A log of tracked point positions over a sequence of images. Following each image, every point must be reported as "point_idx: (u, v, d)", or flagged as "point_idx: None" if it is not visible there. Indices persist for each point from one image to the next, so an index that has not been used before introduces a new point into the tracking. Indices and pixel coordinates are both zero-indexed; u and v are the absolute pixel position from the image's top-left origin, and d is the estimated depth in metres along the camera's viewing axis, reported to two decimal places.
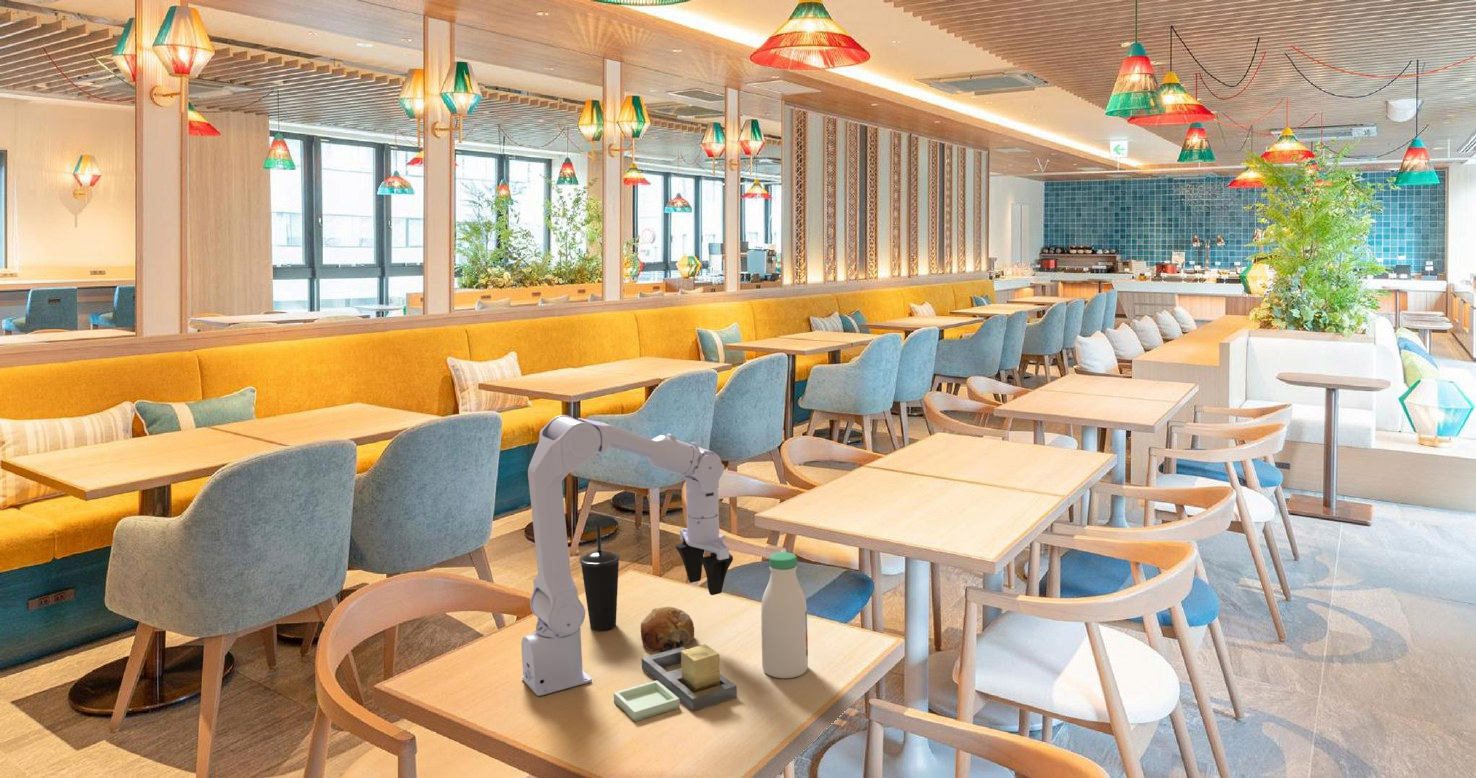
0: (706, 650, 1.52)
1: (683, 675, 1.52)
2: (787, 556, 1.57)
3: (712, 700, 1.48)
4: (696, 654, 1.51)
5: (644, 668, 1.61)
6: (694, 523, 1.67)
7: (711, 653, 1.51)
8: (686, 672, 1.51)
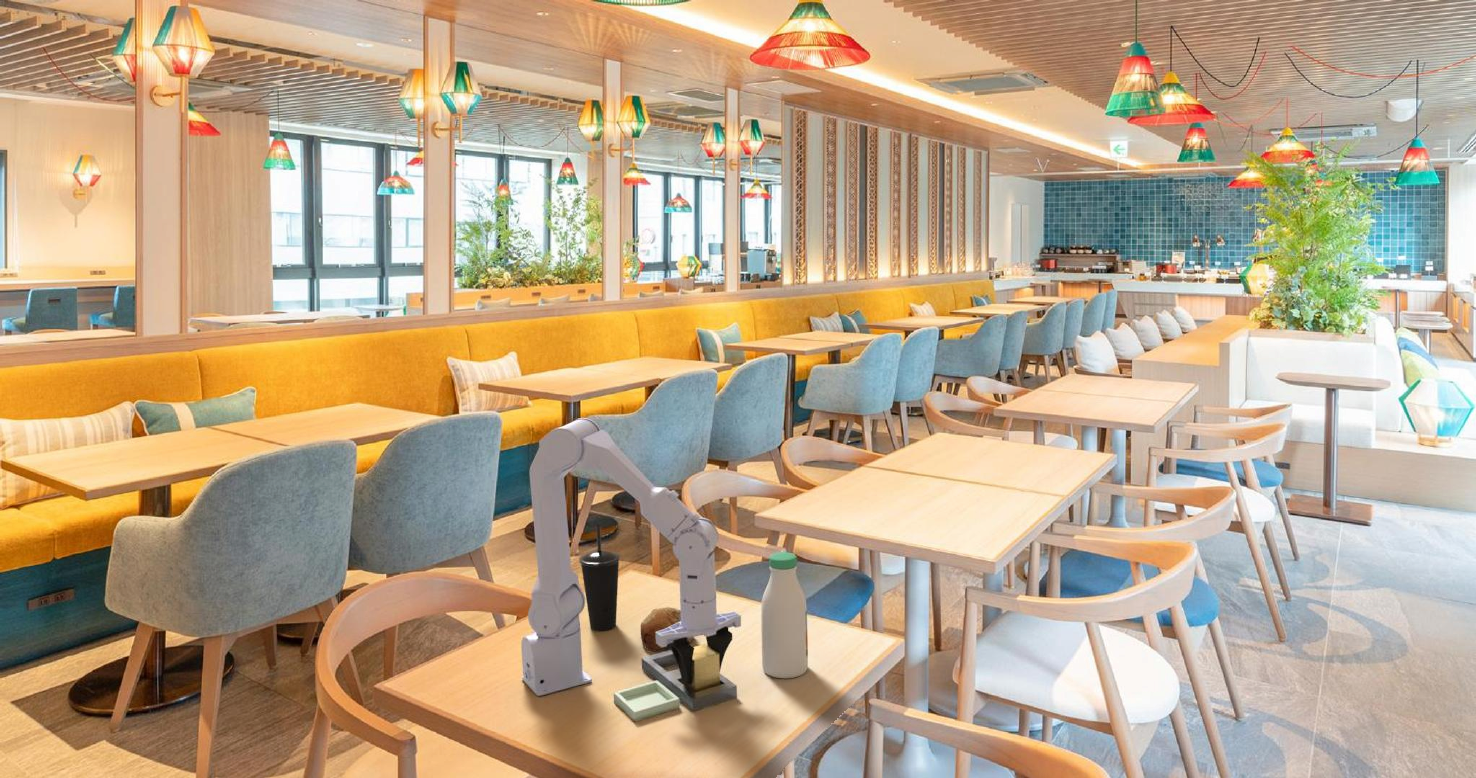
0: (706, 650, 1.52)
1: None
2: (787, 556, 1.57)
3: (712, 700, 1.48)
4: (696, 653, 1.51)
5: (644, 668, 1.61)
6: None
7: (711, 653, 1.51)
8: None
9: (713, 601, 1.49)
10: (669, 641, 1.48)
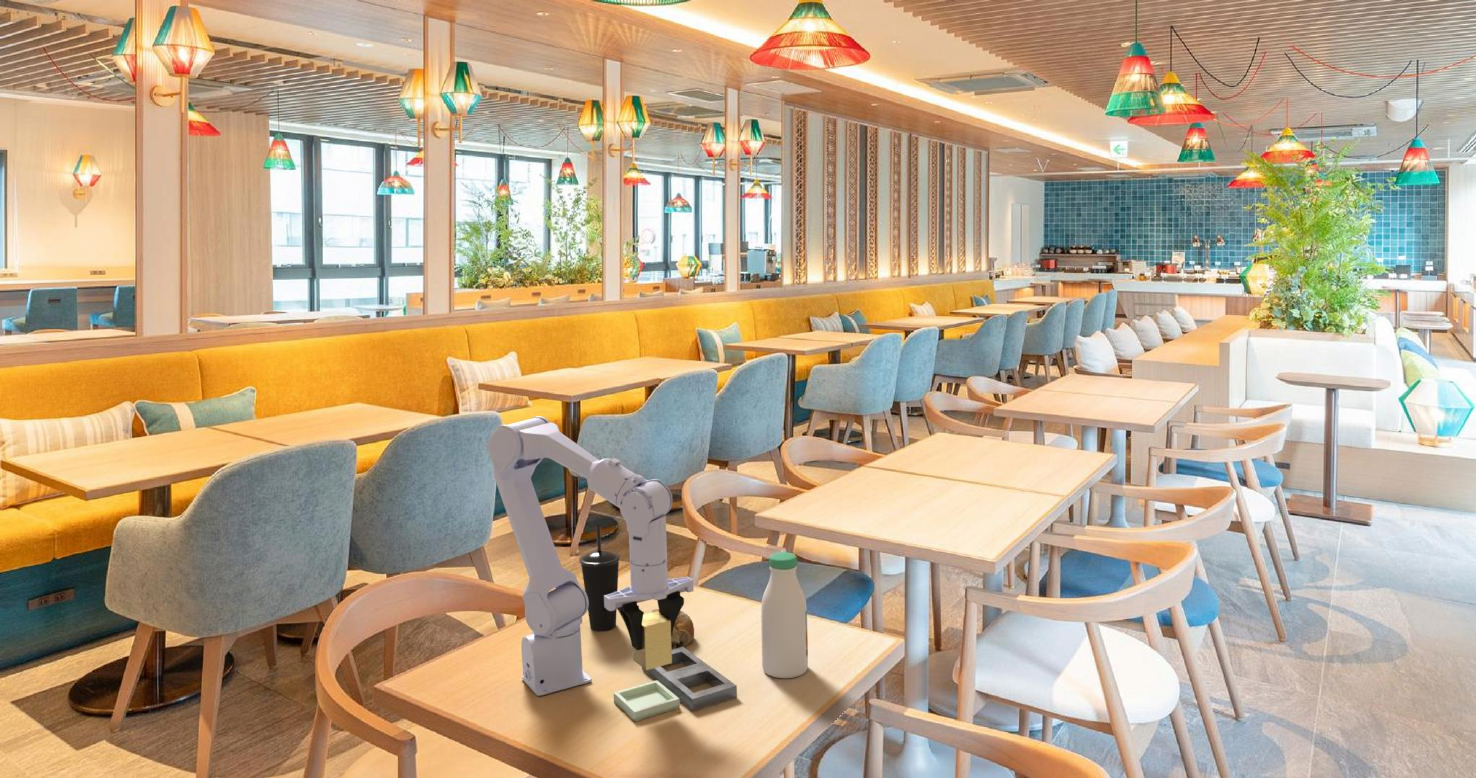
0: (657, 617, 1.48)
1: None
2: (787, 556, 1.57)
3: (712, 700, 1.48)
4: (647, 620, 1.47)
5: None
6: None
7: (662, 620, 1.47)
8: None
9: (663, 564, 1.45)
10: (618, 605, 1.44)
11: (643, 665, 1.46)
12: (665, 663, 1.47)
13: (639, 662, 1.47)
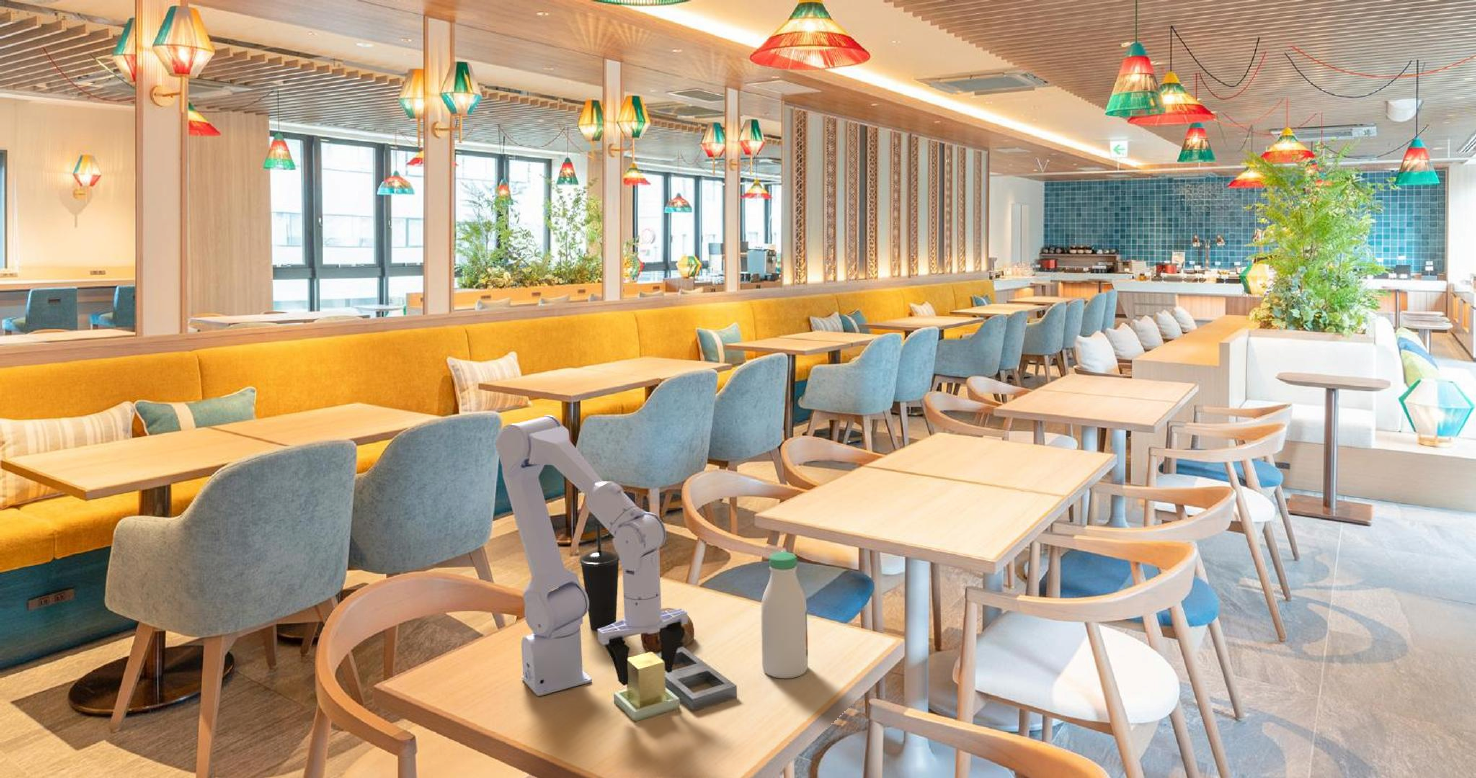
0: (652, 658, 1.49)
1: (628, 683, 1.49)
2: (787, 556, 1.57)
3: (712, 700, 1.48)
4: (641, 662, 1.47)
5: None
6: None
7: (656, 661, 1.48)
8: (631, 680, 1.48)
9: (657, 597, 1.45)
10: (611, 638, 1.44)
11: (637, 706, 1.47)
12: None
13: (633, 703, 1.48)
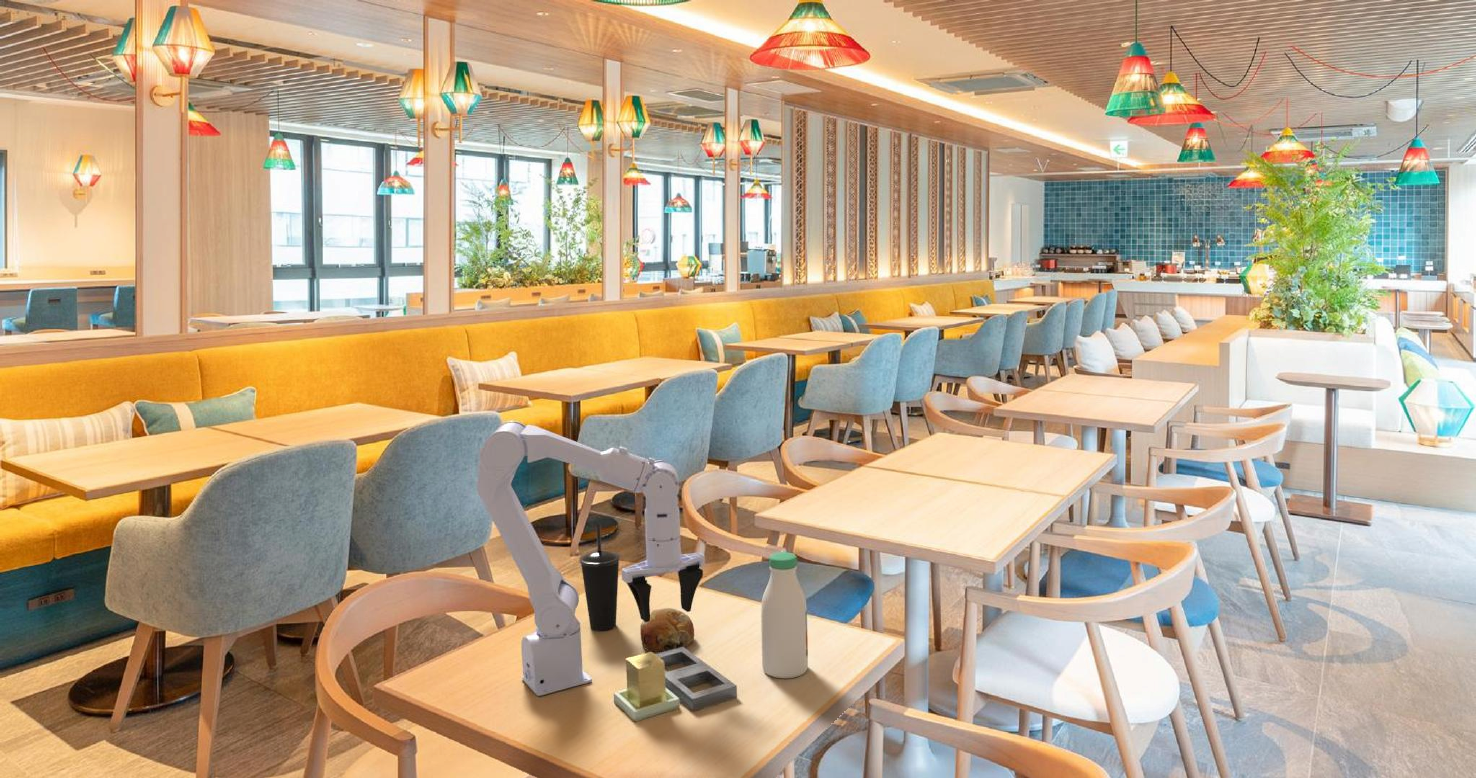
0: (652, 658, 1.49)
1: (628, 683, 1.49)
2: (787, 556, 1.57)
3: (712, 700, 1.48)
4: (641, 662, 1.47)
5: None
6: None
7: (656, 661, 1.48)
8: (631, 680, 1.48)
9: (677, 540, 1.55)
10: (634, 578, 1.54)
11: (637, 706, 1.47)
12: None
13: (633, 703, 1.48)
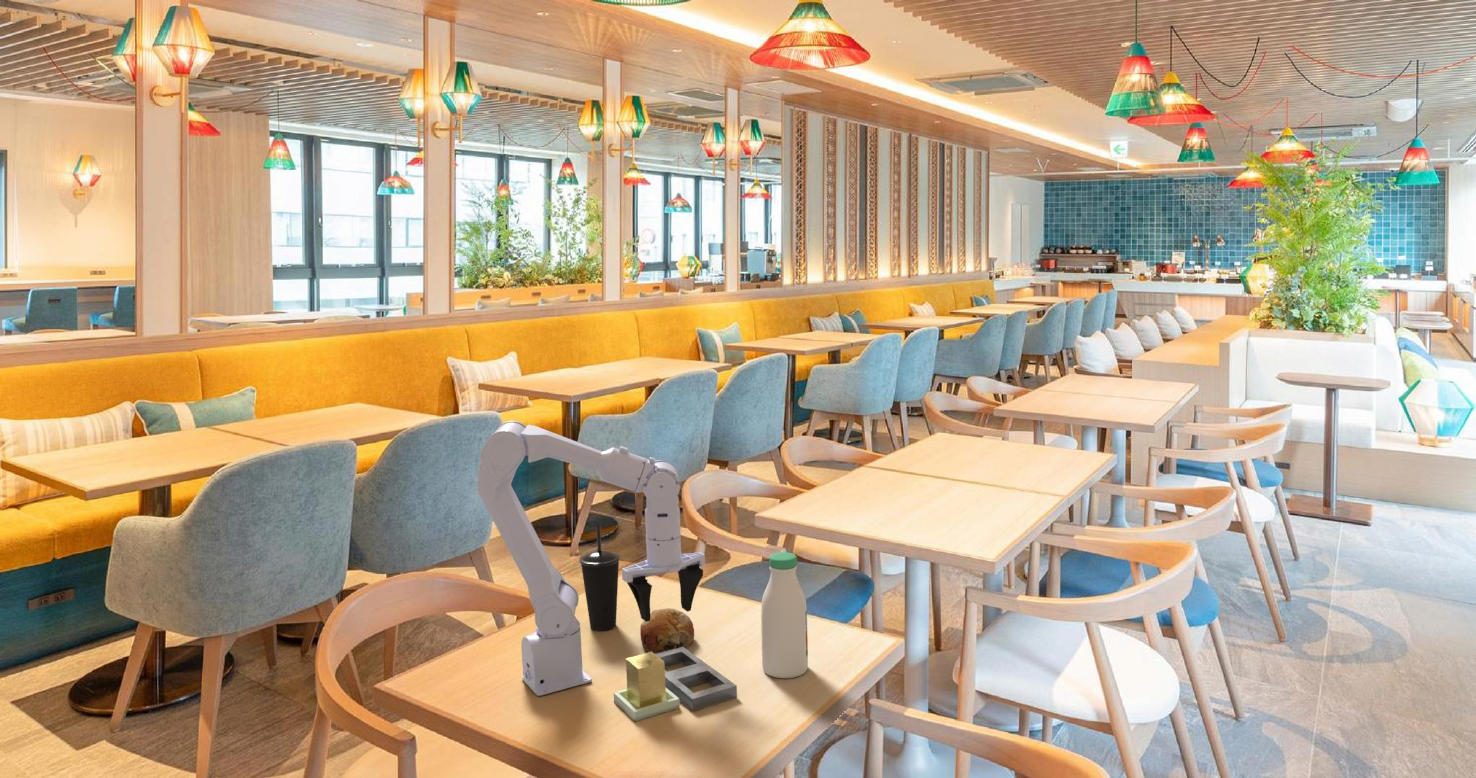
0: (652, 658, 1.49)
1: (628, 683, 1.49)
2: (787, 556, 1.57)
3: (712, 700, 1.48)
4: (641, 662, 1.47)
5: None
6: None
7: (656, 661, 1.48)
8: (631, 680, 1.48)
9: (677, 539, 1.55)
10: (635, 577, 1.54)
11: (637, 706, 1.47)
12: None
13: (633, 703, 1.48)
